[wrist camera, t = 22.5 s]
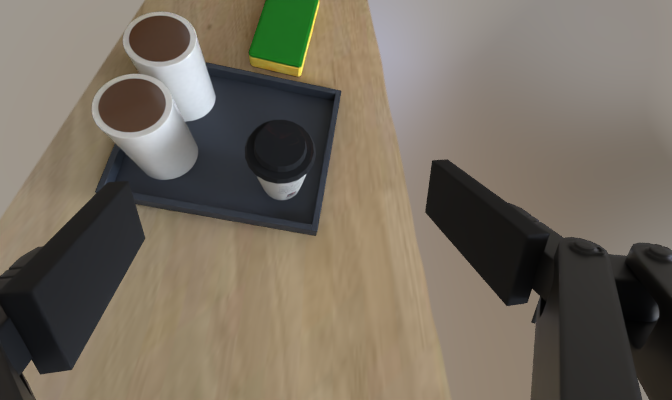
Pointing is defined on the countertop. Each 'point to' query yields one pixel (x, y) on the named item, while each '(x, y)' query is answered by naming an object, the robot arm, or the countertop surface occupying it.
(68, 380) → the countertop surface
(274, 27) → the dish sponge
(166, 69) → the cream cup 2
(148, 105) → the cream cup
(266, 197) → the cup tray
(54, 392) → the countertop surface
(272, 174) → the coffee cup
